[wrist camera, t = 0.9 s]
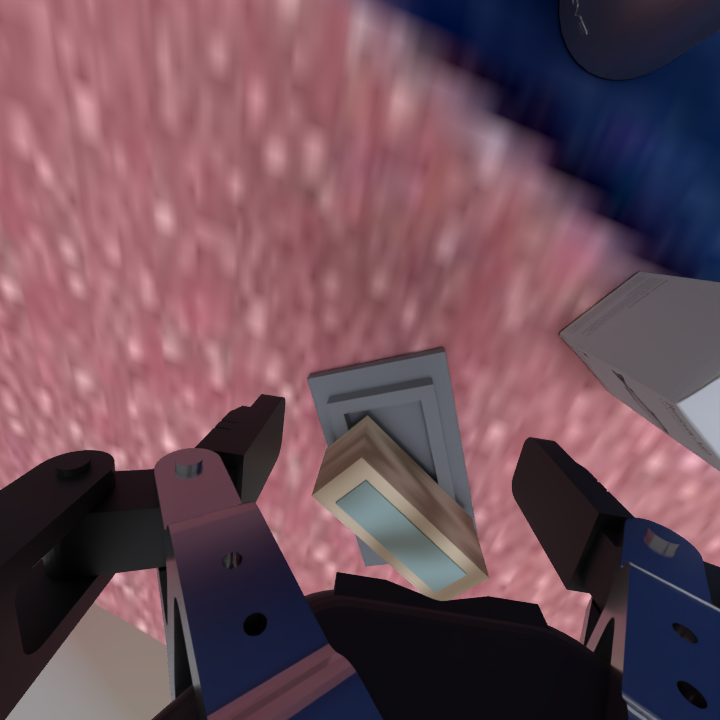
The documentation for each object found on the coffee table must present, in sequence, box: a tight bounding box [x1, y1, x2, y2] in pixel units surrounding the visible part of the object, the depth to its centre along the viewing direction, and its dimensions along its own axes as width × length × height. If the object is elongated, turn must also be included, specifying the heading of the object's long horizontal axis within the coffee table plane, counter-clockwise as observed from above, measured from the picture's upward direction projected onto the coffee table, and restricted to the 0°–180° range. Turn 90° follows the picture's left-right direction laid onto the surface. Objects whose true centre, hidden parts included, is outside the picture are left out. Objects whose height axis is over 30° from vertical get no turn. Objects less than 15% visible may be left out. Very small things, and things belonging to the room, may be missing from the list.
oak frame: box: [312, 415, 489, 601], centre depth 28 cm, size 14×5×6 cm, turn 44°
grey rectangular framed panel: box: [307, 347, 478, 566], centre depth 32 cm, size 22×12×3 cm, turn 14°
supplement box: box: [559, 271, 720, 471], centre depth 22 cm, size 7×7×13 cm
